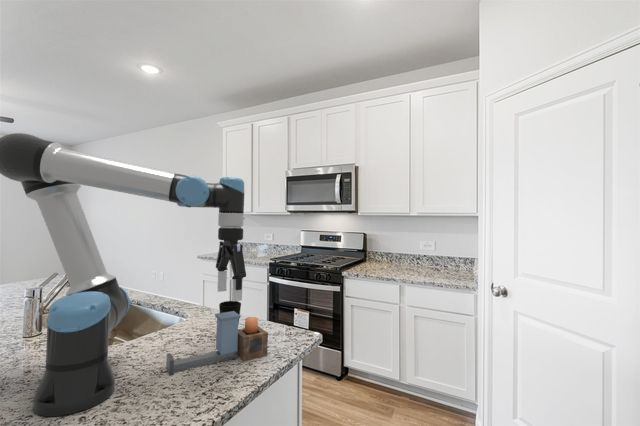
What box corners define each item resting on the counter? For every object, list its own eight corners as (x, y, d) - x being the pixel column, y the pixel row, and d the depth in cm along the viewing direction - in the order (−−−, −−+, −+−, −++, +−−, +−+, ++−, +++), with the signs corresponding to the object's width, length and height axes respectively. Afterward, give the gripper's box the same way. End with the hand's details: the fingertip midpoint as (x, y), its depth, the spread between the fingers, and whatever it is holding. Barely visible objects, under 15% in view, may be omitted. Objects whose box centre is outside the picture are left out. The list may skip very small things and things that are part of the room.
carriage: (219, 355, 93) (221, 318, 93) (213, 348, 97) (215, 313, 97) (239, 351, 96) (240, 315, 96) (232, 344, 101) (233, 311, 101)
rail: (169, 375, 85) (170, 360, 85) (166, 367, 89) (166, 353, 89) (243, 357, 97) (243, 344, 97) (237, 351, 101) (237, 339, 101)
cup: (226, 342, 108) (227, 307, 108) (213, 337, 113) (214, 303, 113) (244, 336, 114) (245, 303, 114) (231, 331, 119) (232, 299, 119)
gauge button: (247, 334, 97) (248, 321, 97) (242, 330, 101) (243, 318, 101) (259, 332, 100) (259, 319, 100) (254, 328, 103) (254, 316, 103)
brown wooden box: (243, 361, 94) (244, 338, 94) (233, 351, 101) (234, 329, 101) (267, 355, 99) (268, 333, 99) (256, 346, 106) (257, 325, 106)
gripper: (259, 229, 89) (257, 303, 89) (229, 226, 110) (227, 286, 109) (233, 229, 85) (231, 307, 85) (207, 225, 105) (205, 289, 105)
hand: (229, 295), depth 97 cm, fingers open, 13 cm apart
